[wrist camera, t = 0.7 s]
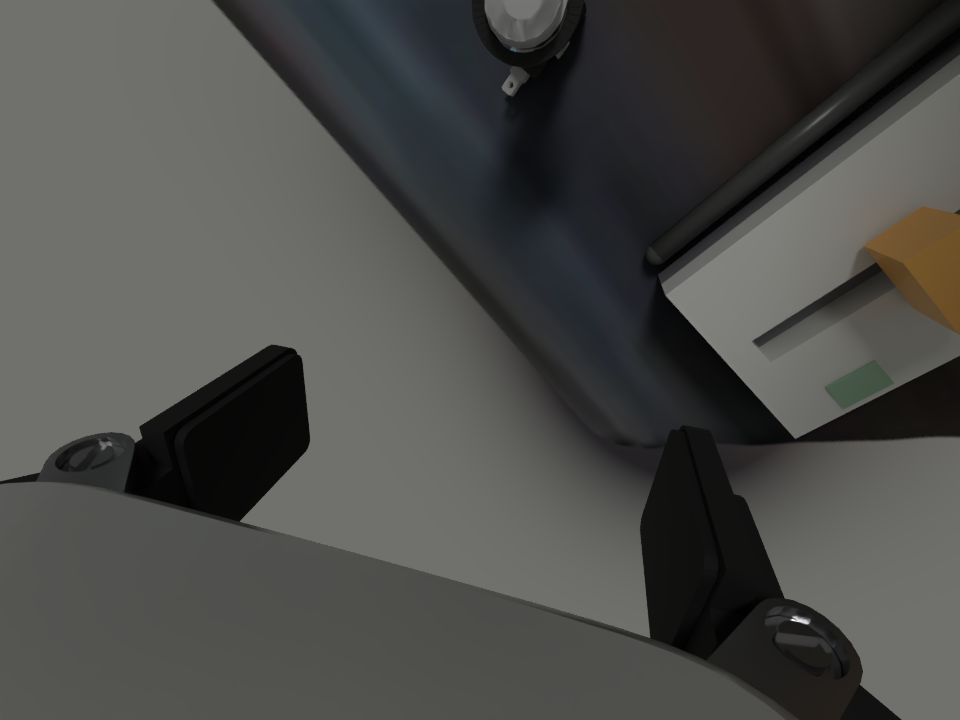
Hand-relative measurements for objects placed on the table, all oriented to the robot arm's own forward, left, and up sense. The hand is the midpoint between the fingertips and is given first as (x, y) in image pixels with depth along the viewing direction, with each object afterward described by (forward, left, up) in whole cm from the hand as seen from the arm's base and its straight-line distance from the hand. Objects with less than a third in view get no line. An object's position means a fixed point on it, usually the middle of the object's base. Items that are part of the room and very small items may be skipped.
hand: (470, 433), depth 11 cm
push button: (-7, -10, -27) cm, 29 cm away
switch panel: (-14, +13, -27) cm, 33 cm away
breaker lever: (-14, +14, -24) cm, 31 cm away
